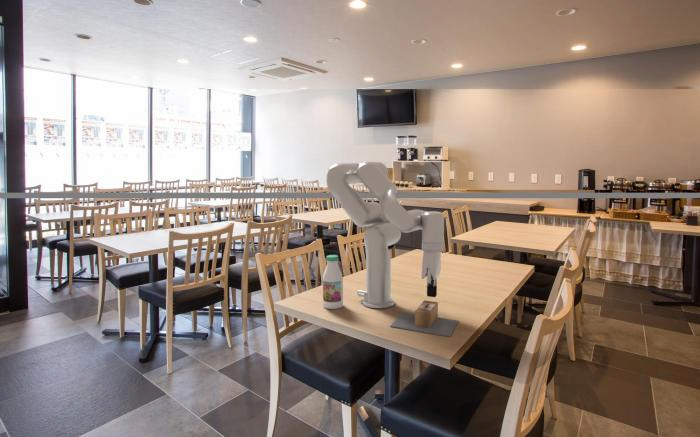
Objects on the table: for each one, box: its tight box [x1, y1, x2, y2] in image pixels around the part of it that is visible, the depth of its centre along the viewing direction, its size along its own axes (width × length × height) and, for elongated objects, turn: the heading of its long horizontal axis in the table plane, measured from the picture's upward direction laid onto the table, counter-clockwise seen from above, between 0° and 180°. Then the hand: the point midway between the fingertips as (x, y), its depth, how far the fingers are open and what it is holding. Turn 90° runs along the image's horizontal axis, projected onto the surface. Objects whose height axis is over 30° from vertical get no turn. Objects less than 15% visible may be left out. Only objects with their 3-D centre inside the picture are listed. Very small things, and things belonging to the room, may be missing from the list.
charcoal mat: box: [389, 311, 459, 338], centre depth 136 cm, size 20×14×1 cm
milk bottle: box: [322, 254, 344, 310], centre depth 153 cm, size 8×8×20 cm
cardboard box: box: [414, 299, 439, 328], centre depth 138 cm, size 5×5×12 cm
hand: (431, 296), depth 143 cm, fingers closed
